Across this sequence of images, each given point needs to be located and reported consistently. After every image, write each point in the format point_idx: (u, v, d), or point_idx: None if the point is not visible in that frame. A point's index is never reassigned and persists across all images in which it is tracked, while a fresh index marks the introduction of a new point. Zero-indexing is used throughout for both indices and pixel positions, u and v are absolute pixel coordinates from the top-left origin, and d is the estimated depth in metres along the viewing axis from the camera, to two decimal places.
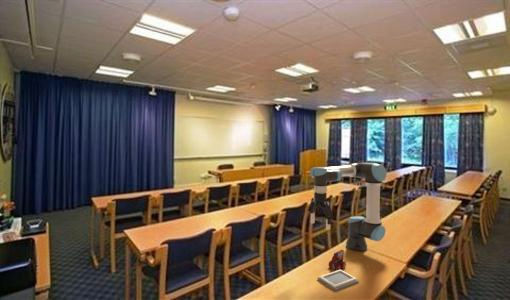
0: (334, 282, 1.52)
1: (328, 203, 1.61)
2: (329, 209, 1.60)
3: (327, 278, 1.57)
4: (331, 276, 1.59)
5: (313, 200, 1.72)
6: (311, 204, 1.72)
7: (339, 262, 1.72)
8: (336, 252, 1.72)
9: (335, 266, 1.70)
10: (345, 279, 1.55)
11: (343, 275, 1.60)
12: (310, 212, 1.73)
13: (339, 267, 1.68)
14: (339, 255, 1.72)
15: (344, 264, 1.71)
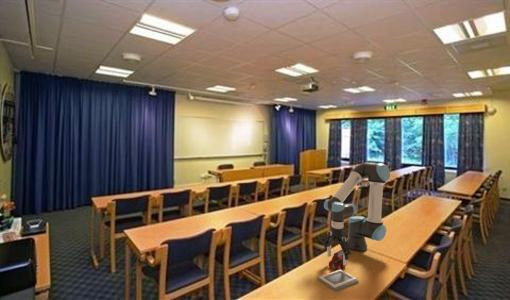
0: (334, 282, 1.52)
1: (345, 239, 1.66)
2: (346, 245, 1.64)
3: (327, 278, 1.57)
4: (331, 276, 1.59)
5: None
6: (328, 238, 1.77)
7: (339, 262, 1.72)
8: (336, 252, 1.72)
9: (335, 266, 1.70)
10: (345, 279, 1.55)
11: (343, 275, 1.60)
12: (326, 245, 1.78)
13: (339, 267, 1.68)
14: (339, 255, 1.72)
15: None
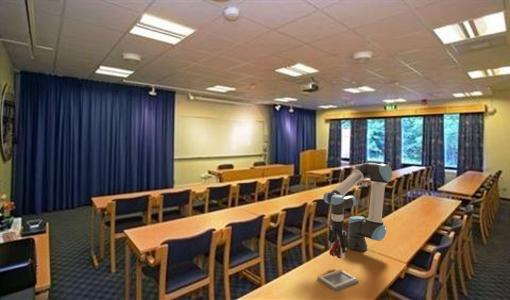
0: (334, 282, 1.52)
1: (346, 233, 1.66)
2: (345, 239, 1.66)
3: (327, 278, 1.57)
4: (331, 276, 1.59)
5: None
6: (329, 232, 1.76)
7: (340, 250, 1.72)
8: (337, 240, 1.72)
9: (336, 254, 1.70)
10: (345, 279, 1.55)
11: (343, 275, 1.60)
12: (330, 242, 1.75)
13: (340, 255, 1.68)
14: (340, 243, 1.72)
15: (345, 252, 1.71)
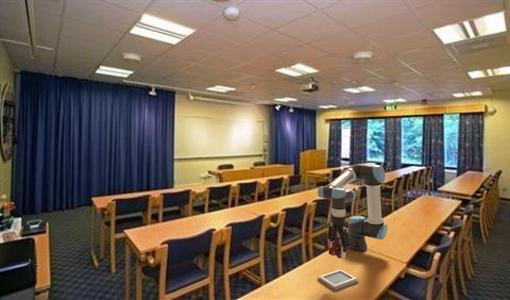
0: (334, 282, 1.52)
1: (347, 230, 1.49)
2: (347, 236, 1.49)
3: (327, 278, 1.57)
4: (331, 276, 1.59)
5: None
6: (329, 230, 1.59)
7: (340, 249, 1.55)
8: (337, 238, 1.55)
9: (336, 253, 1.53)
10: (345, 279, 1.55)
11: (343, 275, 1.60)
12: (330, 240, 1.59)
13: (340, 254, 1.51)
14: (340, 241, 1.55)
15: (346, 251, 1.54)
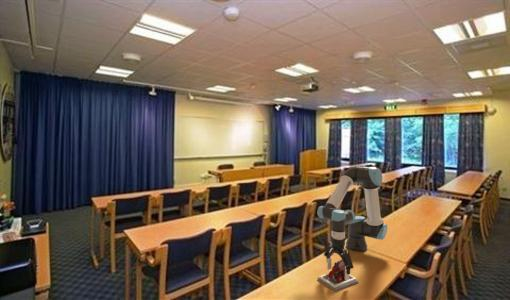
0: (334, 282, 1.52)
1: (347, 251, 1.49)
2: (348, 258, 1.48)
3: (327, 278, 1.57)
4: None
5: None
6: (328, 249, 1.61)
7: (340, 273, 1.56)
8: (337, 262, 1.55)
9: (336, 277, 1.53)
10: None
11: None
12: (326, 257, 1.61)
13: (340, 279, 1.52)
14: (340, 265, 1.56)
15: None
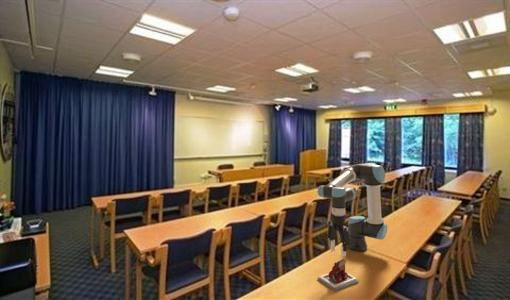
0: (334, 282, 1.52)
1: (347, 229, 1.49)
2: (347, 235, 1.49)
3: (327, 278, 1.57)
4: None
5: None
6: (329, 229, 1.59)
7: (340, 273, 1.56)
8: (337, 262, 1.55)
9: (336, 277, 1.53)
10: None
11: None
12: (330, 239, 1.59)
13: (340, 279, 1.52)
14: (340, 265, 1.56)
15: (346, 275, 1.55)
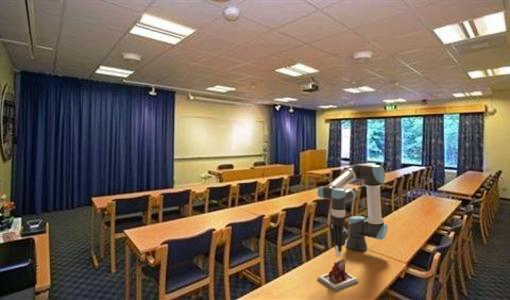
0: (334, 282, 1.52)
1: (346, 232, 1.50)
2: (344, 237, 1.51)
3: (327, 278, 1.57)
4: None
5: (331, 226, 1.59)
6: (331, 232, 1.58)
7: (340, 273, 1.56)
8: (337, 262, 1.55)
9: (336, 277, 1.53)
10: None
11: None
12: (335, 243, 1.56)
13: (340, 279, 1.52)
14: (340, 265, 1.56)
15: (346, 275, 1.55)
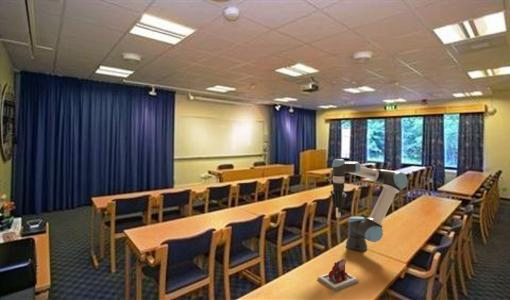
0: (334, 282, 1.52)
1: (345, 195, 1.77)
2: (343, 200, 1.78)
3: (327, 278, 1.57)
4: None
5: None
6: (332, 196, 1.85)
7: (340, 273, 1.56)
8: (337, 262, 1.55)
9: (336, 277, 1.53)
10: None
11: None
12: (335, 206, 1.82)
13: (340, 279, 1.52)
14: (340, 265, 1.56)
15: (346, 275, 1.55)
